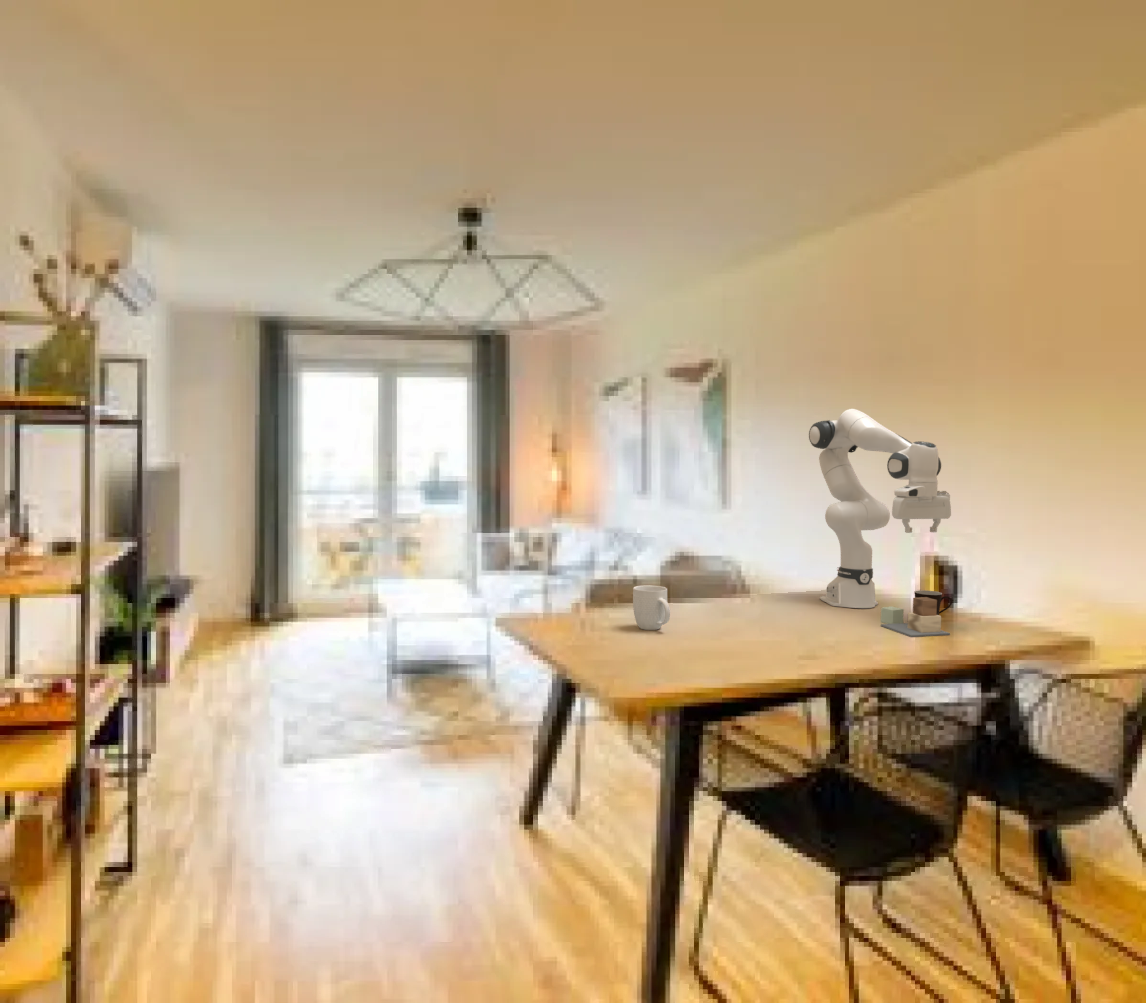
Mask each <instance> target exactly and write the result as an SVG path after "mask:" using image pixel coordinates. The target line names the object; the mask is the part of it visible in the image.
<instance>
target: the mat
mask: <svg viewBox="0 0 1146 1003" xmlns="http://www.w3.org/2000/svg"><path fill="white" fill-rule="evenodd" d="M880 627H882V628H884V629H888V630H891V631H893V632H896V633H899V634H901V635H905V636H907V637H910V638H919V637H921V638H922V637H939V636H941V637H943V636H950V635H951V632H948V631H944V630H942V629H941V632H924V633H921V632H918V631H915V630H912V629H909V628H908V622H905V623H904V622H903V623H898V624H887V623H880Z"/></svg>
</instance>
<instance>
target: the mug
mask: <svg viewBox="0 0 1146 1003" xmlns="http://www.w3.org/2000/svg"><path fill="white" fill-rule="evenodd" d="M632 590H633V591H632V608H633V615H634V620H635V622H636V625H637V626H638V628H639V629H641V630H645V631H656V630H659V629H661V627H662V626H663V625H666V624H667V623H669V621H670V618H671V609H670V605H669V602H668V587H665V586H660V585H649V584H648V585H647V584H646V585H643V584H642V585H637V586H634V587H633V588H632Z"/></svg>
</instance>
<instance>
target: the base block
mask: <svg viewBox="0 0 1146 1003" xmlns="http://www.w3.org/2000/svg"><path fill="white" fill-rule="evenodd" d="M907 623H908V628H909V629H912V630H915V631H918V632H921V633H924V632H941V630H942V629H941V628H942V616H941V615H940V614H939V615H936V616H920V615H917V614H914V613H913V611H912V612H907Z"/></svg>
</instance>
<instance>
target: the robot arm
mask: <svg viewBox="0 0 1146 1003" xmlns="http://www.w3.org/2000/svg"><path fill="white" fill-rule="evenodd" d="M808 440H809V442H810V444H811V446H812V447H814V448H816V449H821V450H822V451H821V452H820V453H819V455H818V461H819V466H820V470H821V473H822V476H823V478H824V480H825V482H826V486H827V487H828V490H829V492H830V493H831V494H830V495H831V496H832V497H834V498H835V499H836V500H838V501H837V502H834V503H832V504H831V503H830V505H829V506H828V507H827V509H826V510H825V513H824V514H825V515H824V516H825V517H824V518H825V522H826V524H827V525H828V527H829V528H830V529H831V530H832V531H833V532H834V533H835V535H836V537H837V540H838V542H839V547H840V566H839V567H838V569H836V571H837V574H836V575H837V576H836V577H834V579H833V580H832V581H830V582H829V583H828V584H827V586H826V589H825V590H826V592H825V593H826V594H825V595H821V596H819V600H821V601H823V603H824V602H825V603H827V604H828V605H830V606H832V607H842V608H850V609H871V608H875V607H876V606H877V605H878V604H879V603H878V601H877V600H876V586H875V582H874V581H873V578H874V568H873V547H872V545H870V543H868V542H867V541H865V540H864V538H863V535H862V531H874V530H878V529H882V528H884V527H886V526H887V525H888V523H889V521H890V518H891V516H892V517H893V519H896V520H901V522H902V524H903V526H904V532H905V533H906V534H911V533H913V527H911V526H910V524H909V523H910V522H911V520H930V519H931V520H932V521H933V523H932V526H929V532H930V533H937V532H938V527H939V526H940V524H941V521H942V519H943V520H945V519H950V517H951V516H952V506H951V495H950V494H949V492H947V490H938V484H939V482H938V477H937V476H939V474H940V473H941V470H942V461H941V458H940V457H939V451H938V447H937V445H936V444H935V443H933V442H929V441H914V442H911V441H910V440H908V439H907V438H905V437H903V436H901V435H899V434H897V432H894V431H892V430H890V429H889V428H887V427H885V425H883V424H881V423H879V422H878V421H877V420H875V419H873V418H872V417H871V416H870V415H868V414H867V413H865V412H863V411H861V410H860V409H856V408H848V409H846V410H844V411H843V412H842V413H841V414H840V415H839V417H838V419H835V420H834V419H833V420H830V419H829V420H828V419H827V420H821V421H818V422H815V423H813V424H812V425H811V426H810V428H809V431H808ZM858 448H860V449H862V450H864V451H867V452H868V451H869V452H882V453H888V454H891V455H890V456H889V458H888V460H887V464H886V465H887V472H888V475H889V476H890V477H891V478H893V479H896V480H900V481H901V480H902V481H903V480H906V481H907V480H908V484H906V485H905V486H902V487H899V488H896V489H894V491H893V492H894V496H895V497H894V499H893V501H892V509H891V511H890V509H889V508H888V506H887V505H886V504H885V503H883V502H881V501H880V500H878V499H876V497H874V496H873V495H871V493H870V492H868V490H866V488H864V486H863V485H862V483H861V482H860V480H859V478H858V476H857V473H856V472H855V469H854V467H853V466H852V464H851V462H850V459H849V457H848V456H849V453H850V454H851V453H854V452H856V450H857V449H858ZM890 512H891V515H890Z"/></svg>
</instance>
